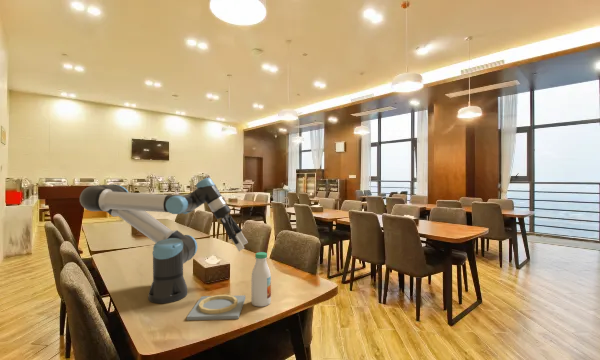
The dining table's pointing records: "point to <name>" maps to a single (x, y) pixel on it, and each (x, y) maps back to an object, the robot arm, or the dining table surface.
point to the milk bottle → (261, 281)
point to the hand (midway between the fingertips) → (243, 246)
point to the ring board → (217, 307)
